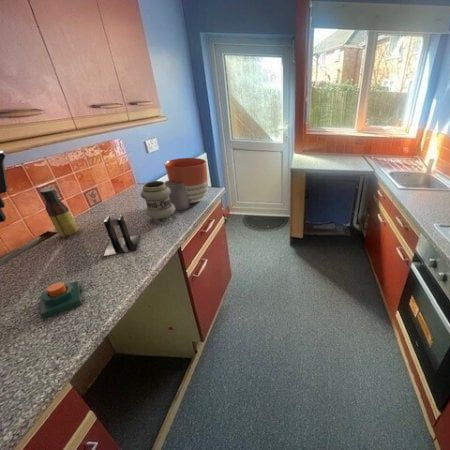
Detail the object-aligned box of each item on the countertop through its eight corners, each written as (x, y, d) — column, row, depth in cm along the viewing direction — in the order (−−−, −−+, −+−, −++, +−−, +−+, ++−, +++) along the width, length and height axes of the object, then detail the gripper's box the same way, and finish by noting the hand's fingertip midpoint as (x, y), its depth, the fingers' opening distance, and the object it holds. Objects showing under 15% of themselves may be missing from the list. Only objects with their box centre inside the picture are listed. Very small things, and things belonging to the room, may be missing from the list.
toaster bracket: (111, 242, 98) (100, 213, 92) (140, 238, 102) (131, 209, 96) (104, 259, 88) (91, 228, 82) (137, 253, 92) (127, 223, 86)
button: (49, 291, 69) (46, 285, 68) (66, 286, 71) (63, 280, 70) (49, 299, 67) (46, 293, 66) (67, 293, 69) (63, 287, 68)
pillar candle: (172, 204, 132) (166, 176, 125) (192, 203, 134) (187, 176, 127) (167, 211, 124) (160, 182, 117) (188, 211, 125) (182, 182, 118)
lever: (120, 227, 101) (118, 218, 101) (130, 225, 102) (128, 217, 102) (108, 228, 88) (106, 218, 88) (120, 226, 89) (118, 216, 89)
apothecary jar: (142, 224, 112) (131, 186, 103) (162, 213, 122) (153, 178, 113) (164, 228, 109) (155, 190, 100) (183, 217, 119) (175, 181, 111)
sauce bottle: (83, 231, 105) (63, 186, 95) (76, 238, 100) (55, 191, 90) (64, 232, 103) (42, 187, 93) (56, 240, 98) (32, 193, 88)
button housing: (44, 298, 72) (38, 287, 70) (80, 286, 76) (75, 276, 74) (44, 320, 65) (37, 309, 63) (82, 305, 70) (77, 294, 68)
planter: (197, 210, 126) (190, 169, 116) (164, 205, 130) (155, 164, 120) (218, 197, 142) (213, 160, 132) (188, 193, 147) (181, 156, 136)
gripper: (-8, 118, 59) (36, 209, 70) (-102, 119, 51) (-35, 221, 62) (-13, 122, 54) (35, 219, 65) (-119, 124, 46) (-43, 233, 57)
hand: (1, 219), depth 64 cm, fingers closed
